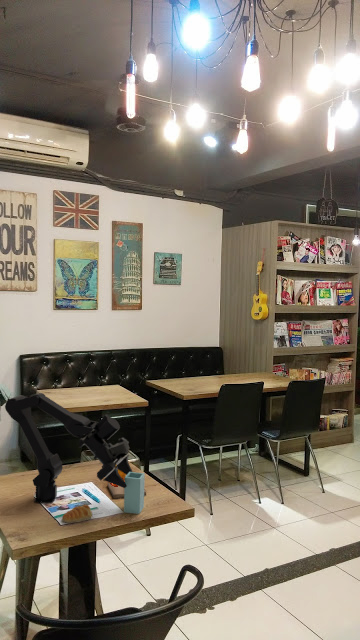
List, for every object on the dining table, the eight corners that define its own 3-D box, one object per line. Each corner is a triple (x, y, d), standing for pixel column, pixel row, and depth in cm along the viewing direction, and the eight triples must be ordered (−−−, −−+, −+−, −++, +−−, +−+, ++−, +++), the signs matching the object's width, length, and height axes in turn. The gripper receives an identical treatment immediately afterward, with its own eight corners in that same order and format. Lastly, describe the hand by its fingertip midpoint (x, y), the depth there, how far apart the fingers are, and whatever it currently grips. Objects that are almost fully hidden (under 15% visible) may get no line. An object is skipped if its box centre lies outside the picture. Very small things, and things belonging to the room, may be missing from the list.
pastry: (68, 527, 154) (68, 515, 154) (58, 519, 159) (58, 508, 159) (94, 519, 160) (94, 507, 160) (83, 511, 165) (84, 500, 165)
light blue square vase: (123, 512, 165) (124, 477, 165) (128, 505, 171) (129, 471, 170) (139, 514, 164) (140, 479, 164) (143, 507, 170) (144, 473, 169)
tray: (113, 498, 176) (113, 494, 176) (107, 486, 187) (107, 482, 187) (146, 495, 180) (146, 491, 179) (137, 483, 191) (138, 479, 191)
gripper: (106, 440, 158) (138, 476, 157) (123, 425, 177) (152, 458, 175) (83, 462, 160) (115, 498, 159) (102, 445, 178) (131, 477, 177)
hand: (129, 482), depth 167 cm, fingers open, 9 cm apart
